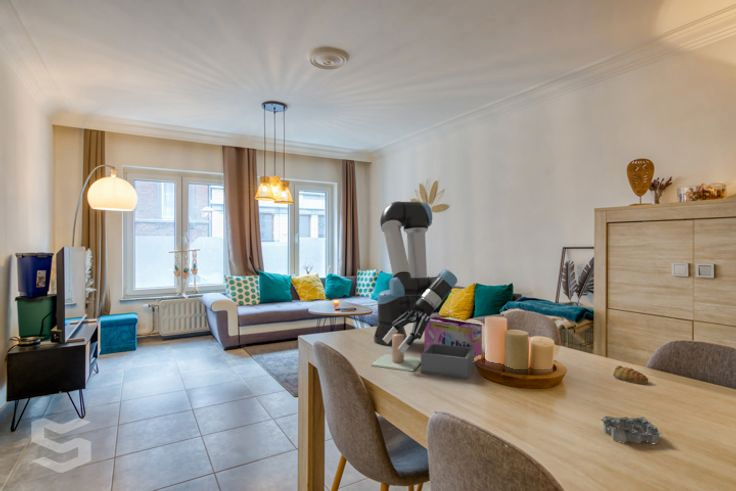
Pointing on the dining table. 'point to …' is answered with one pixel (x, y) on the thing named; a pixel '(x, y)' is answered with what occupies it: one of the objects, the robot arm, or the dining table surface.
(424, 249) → the robot arm
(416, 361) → the lid
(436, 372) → the tub
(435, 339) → the gum box
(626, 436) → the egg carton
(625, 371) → the pastry
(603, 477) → the dining table surface
